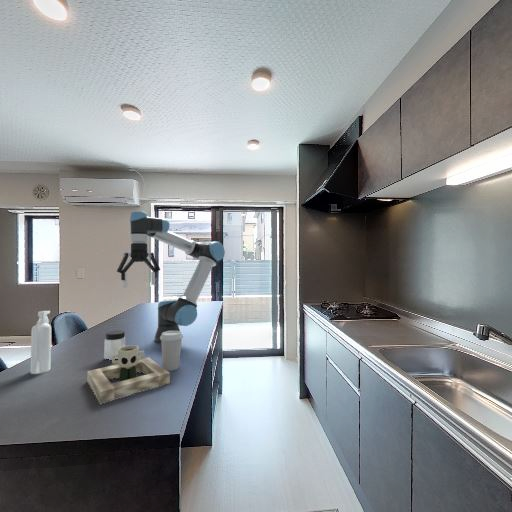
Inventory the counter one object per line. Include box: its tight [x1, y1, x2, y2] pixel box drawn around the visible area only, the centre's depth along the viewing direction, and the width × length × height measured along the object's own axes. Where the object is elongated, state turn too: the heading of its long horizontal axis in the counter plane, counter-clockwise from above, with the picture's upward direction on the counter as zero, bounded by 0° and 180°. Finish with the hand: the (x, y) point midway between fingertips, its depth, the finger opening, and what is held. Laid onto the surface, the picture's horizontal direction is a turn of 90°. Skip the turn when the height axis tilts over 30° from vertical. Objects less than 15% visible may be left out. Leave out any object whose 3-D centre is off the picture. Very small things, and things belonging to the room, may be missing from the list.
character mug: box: [111, 344, 145, 382], centre depth 102 cm, size 11×7×13 cm, turn 119°
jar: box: [103, 329, 126, 361], centre depth 129 cm, size 9×8×12 cm
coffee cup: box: [160, 330, 184, 372], centre depth 117 cm, size 10×10×15 cm
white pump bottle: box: [29, 310, 52, 375], centre depth 113 cm, size 7×12×25 cm, turn 18°
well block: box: [86, 357, 171, 404], centre depth 102 cm, size 23×22×4 cm
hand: (139, 286), depth 134 cm, fingers open, 13 cm apart
